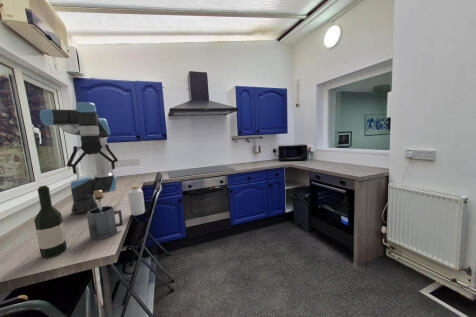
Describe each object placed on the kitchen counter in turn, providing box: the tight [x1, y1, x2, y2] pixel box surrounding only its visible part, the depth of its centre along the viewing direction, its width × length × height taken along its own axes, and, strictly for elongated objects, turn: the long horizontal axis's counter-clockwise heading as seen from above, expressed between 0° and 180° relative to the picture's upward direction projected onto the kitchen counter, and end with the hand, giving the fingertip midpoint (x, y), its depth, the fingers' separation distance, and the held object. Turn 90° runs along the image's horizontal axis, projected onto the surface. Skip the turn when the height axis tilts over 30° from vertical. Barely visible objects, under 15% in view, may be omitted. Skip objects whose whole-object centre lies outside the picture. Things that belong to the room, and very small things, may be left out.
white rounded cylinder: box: [127, 185, 146, 216], centre depth 125 cm, size 8×8×18 cm
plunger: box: [94, 190, 104, 213], centre depth 98 cm, size 7×7×19 cm
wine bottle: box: [33, 185, 68, 260], centre depth 84 cm, size 8×8×30 cm
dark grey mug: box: [86, 205, 124, 241], centre depth 100 cm, size 12×14×13 cm
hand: (96, 178), depth 97 cm, fingers open, 13 cm apart
